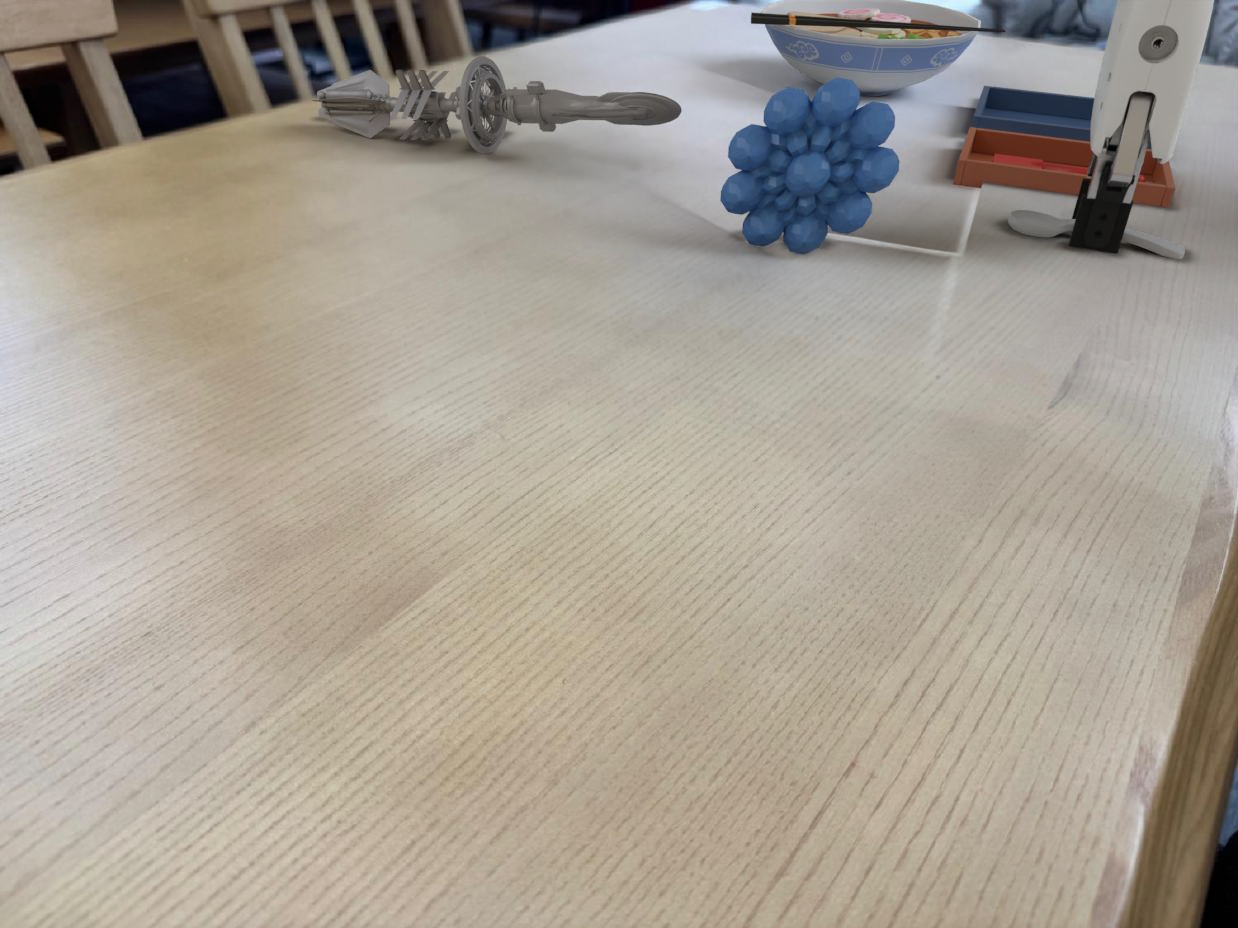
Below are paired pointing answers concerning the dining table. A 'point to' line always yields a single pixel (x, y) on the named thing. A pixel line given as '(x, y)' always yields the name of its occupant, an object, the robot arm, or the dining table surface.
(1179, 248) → the spoon
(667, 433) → the dining table surface
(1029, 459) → the dining table surface
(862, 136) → the blue beaded flower
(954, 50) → the ramen bowl
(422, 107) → the spaceship
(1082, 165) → the terracotta tray
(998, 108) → the blue tray
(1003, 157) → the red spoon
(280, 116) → the dining table surface
